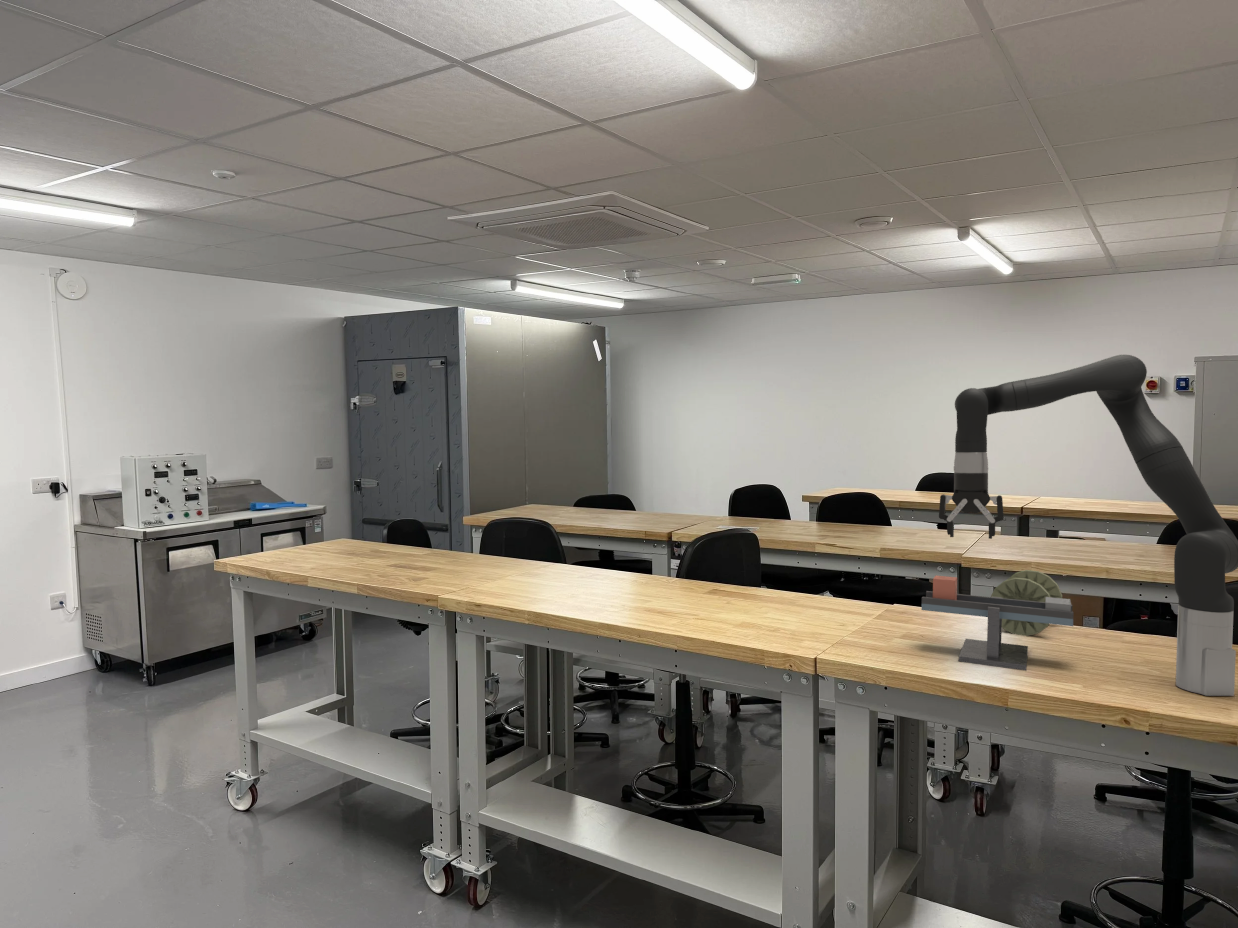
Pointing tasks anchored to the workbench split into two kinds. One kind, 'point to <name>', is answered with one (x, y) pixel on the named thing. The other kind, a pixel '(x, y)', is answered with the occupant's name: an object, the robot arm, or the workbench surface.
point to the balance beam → (1004, 608)
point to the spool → (1026, 597)
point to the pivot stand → (994, 647)
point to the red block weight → (945, 587)
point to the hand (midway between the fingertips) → (970, 537)
